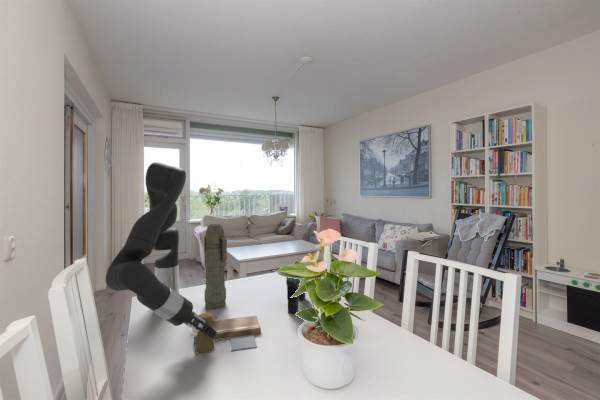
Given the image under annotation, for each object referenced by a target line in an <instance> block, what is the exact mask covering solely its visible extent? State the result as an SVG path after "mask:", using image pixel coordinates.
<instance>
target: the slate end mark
mask: <svg viewBox="0 0 600 400" xmlns="http://www.w3.org/2000/svg"><path fill="white" fill-rule="evenodd" d="M229 340H230V349H231V352H235V351H241V350H248V349H254V348H255V349H256V348H258V345H257V342H256V338H255V334H251V335H244V336H237V337H230V338H229Z"/></svg>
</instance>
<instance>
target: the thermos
mask: <svg viewBox="0 0 600 400" xmlns="http://www.w3.org/2000/svg"><path fill="white" fill-rule="evenodd" d="M203 243H204V244H203V253H204V267H205V289H204V303H205V304H204V308H205V309H207V310H219V309H222V308H225V307H226V305H227V303H226V301H227V288H226V281H225V280H226V276H225V274H226V273H225V272H226V265H227V259H228V258H227V251H228V250H227V249H228V240H227V238H226V236H225V229H224V226H223V225H222V224H220V223H211V224H209V225H207V227H206V231H205V235H204V238H203Z"/></svg>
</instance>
